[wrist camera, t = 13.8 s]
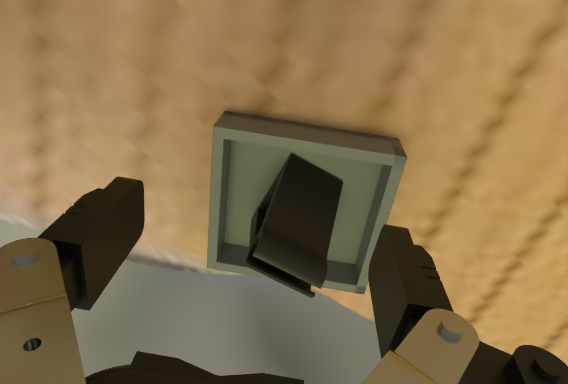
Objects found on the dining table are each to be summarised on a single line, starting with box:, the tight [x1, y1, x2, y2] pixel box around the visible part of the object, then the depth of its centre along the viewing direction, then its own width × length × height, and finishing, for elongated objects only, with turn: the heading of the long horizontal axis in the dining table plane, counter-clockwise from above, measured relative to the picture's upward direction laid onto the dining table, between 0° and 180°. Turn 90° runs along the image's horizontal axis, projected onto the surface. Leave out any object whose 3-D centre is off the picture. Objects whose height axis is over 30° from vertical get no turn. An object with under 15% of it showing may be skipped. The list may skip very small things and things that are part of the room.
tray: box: [207, 111, 407, 294], centre depth 39 cm, size 17×16×4 cm
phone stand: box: [245, 154, 343, 298], centre depth 35 cm, size 9×6×12 cm, turn 151°
